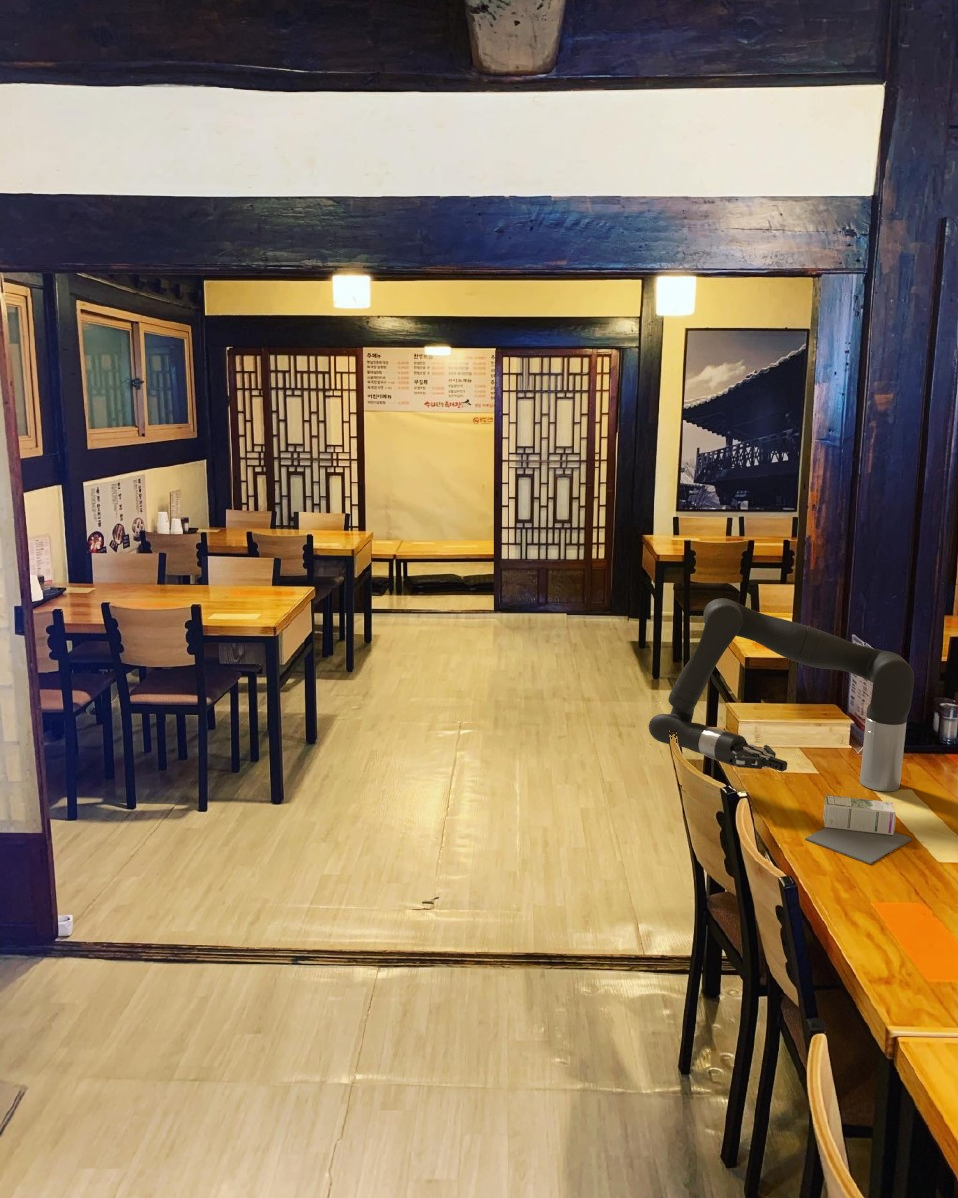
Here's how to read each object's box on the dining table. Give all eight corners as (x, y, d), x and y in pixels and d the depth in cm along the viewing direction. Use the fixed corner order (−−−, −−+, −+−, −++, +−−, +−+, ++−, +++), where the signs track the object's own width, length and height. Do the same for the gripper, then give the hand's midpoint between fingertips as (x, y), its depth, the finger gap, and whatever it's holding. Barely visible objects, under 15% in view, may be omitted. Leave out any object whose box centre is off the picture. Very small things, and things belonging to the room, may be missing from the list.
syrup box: (824, 828, 221) (893, 837, 217) (826, 803, 220) (897, 812, 216) (822, 817, 227) (890, 826, 223) (825, 793, 225) (893, 801, 221)
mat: (848, 817, 228) (848, 815, 228) (911, 840, 217) (911, 838, 217) (805, 839, 216) (805, 838, 216) (870, 864, 205) (870, 863, 205)
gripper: (706, 737, 236) (770, 758, 223) (739, 725, 244) (802, 745, 232) (704, 767, 237) (767, 789, 225) (737, 754, 246) (799, 775, 233)
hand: (785, 766), depth 228 cm, fingers closed
